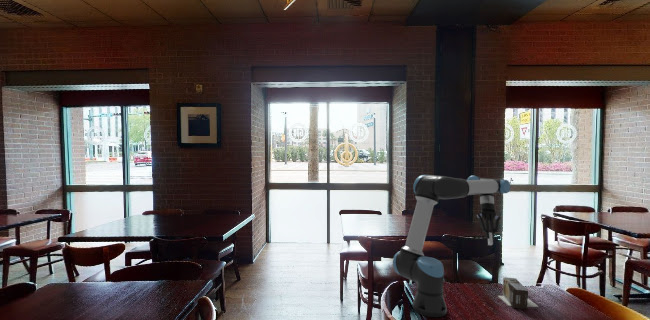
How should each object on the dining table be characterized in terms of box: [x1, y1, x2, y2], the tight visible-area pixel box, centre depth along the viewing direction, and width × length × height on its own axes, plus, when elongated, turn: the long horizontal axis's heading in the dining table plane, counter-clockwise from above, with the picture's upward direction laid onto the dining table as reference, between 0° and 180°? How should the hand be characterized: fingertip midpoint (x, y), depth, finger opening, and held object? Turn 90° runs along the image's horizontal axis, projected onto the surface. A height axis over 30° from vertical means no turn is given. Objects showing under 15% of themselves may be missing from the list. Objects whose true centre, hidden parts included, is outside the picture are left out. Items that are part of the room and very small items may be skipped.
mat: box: [497, 295, 539, 308], centre depth 164 cm, size 14×11×1 cm
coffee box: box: [502, 276, 529, 310], centre depth 163 cm, size 9×6×16 cm
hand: (490, 244), depth 182 cm, fingers closed
